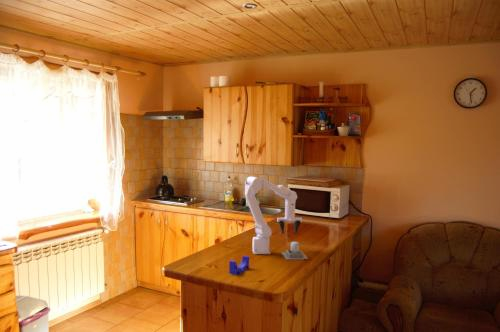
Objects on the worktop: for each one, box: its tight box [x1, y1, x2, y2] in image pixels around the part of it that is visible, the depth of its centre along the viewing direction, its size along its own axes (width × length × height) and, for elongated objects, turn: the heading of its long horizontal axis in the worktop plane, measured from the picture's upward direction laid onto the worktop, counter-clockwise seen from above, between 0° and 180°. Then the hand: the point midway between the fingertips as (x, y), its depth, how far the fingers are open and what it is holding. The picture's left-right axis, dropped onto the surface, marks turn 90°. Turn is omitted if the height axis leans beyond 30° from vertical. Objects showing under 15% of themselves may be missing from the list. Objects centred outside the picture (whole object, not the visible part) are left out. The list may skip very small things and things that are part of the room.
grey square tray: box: [280, 249, 309, 261], centre depth 218 cm, size 12×12×3 cm
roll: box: [290, 241, 300, 254], centre depth 218 cm, size 4×4×7 cm
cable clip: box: [228, 254, 250, 276], centre depth 192 cm, size 12×4×6 cm, turn 144°
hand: (289, 233), depth 231 cm, fingers open, 7 cm apart
